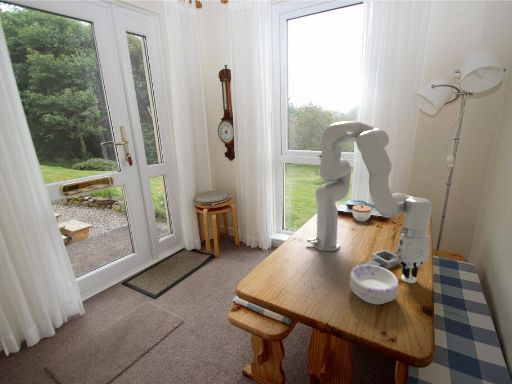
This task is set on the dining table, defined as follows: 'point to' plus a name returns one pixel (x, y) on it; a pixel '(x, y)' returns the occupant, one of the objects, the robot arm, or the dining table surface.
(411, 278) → the chess piece
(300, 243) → the dining table surface
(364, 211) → the lidded jar
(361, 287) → the paper bowls
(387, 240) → the dining table surface
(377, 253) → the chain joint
